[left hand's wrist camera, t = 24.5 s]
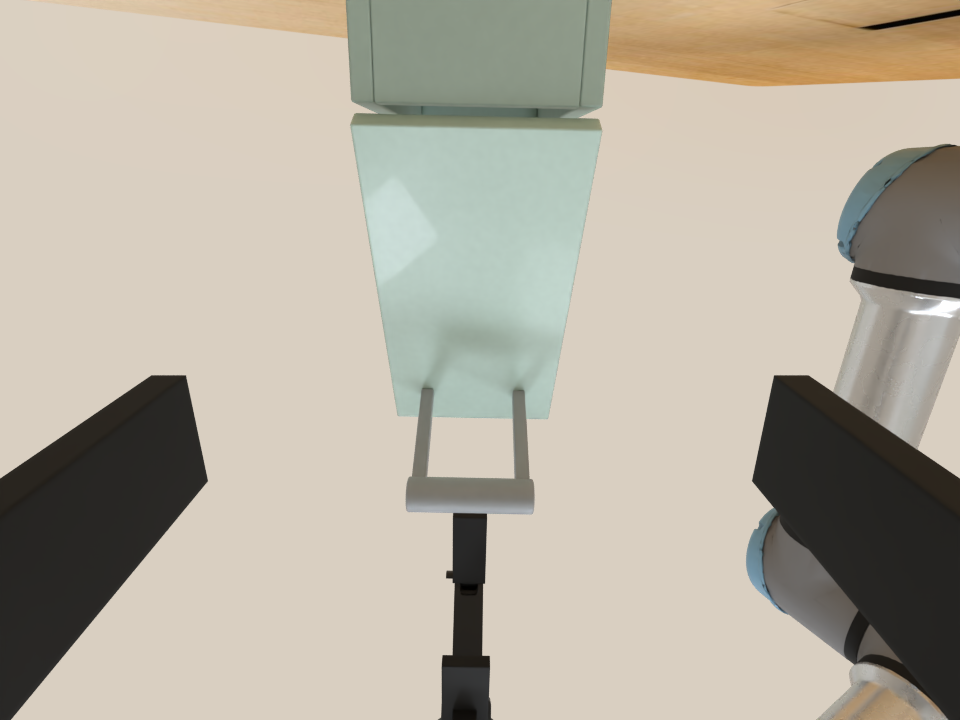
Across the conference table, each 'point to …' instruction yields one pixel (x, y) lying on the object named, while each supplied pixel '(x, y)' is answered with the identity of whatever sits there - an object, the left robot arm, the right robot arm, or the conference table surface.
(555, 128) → the lid
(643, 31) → the conference table surface
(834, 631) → the right robot arm
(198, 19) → the conference table surface
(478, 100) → the chest
